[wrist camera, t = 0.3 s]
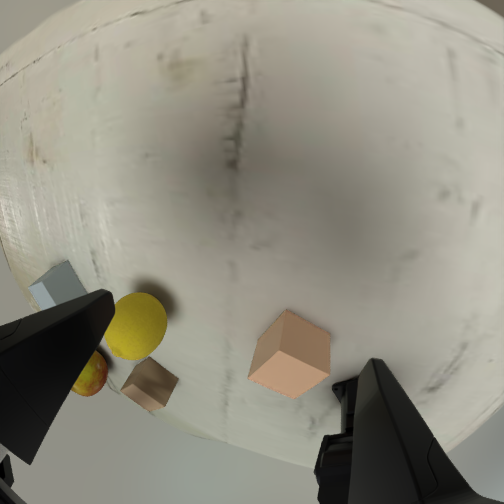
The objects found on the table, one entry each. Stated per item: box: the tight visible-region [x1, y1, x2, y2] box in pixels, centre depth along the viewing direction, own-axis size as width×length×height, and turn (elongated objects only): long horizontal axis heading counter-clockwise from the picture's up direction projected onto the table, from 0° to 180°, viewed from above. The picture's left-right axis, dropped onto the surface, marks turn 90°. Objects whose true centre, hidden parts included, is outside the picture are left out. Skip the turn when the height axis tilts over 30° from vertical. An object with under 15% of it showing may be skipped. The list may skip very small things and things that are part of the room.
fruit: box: [71, 350, 108, 397], centre depth 33 cm, size 10×9×8 cm
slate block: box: [28, 261, 88, 310], centre depth 27 cm, size 5×5×5 cm
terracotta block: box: [247, 309, 330, 399], centre depth 23 cm, size 5×5×5 cm
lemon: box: [104, 292, 167, 360], centre depth 23 cm, size 6×6×8 cm
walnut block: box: [120, 356, 179, 412], centre depth 32 cm, size 5×5×5 cm
